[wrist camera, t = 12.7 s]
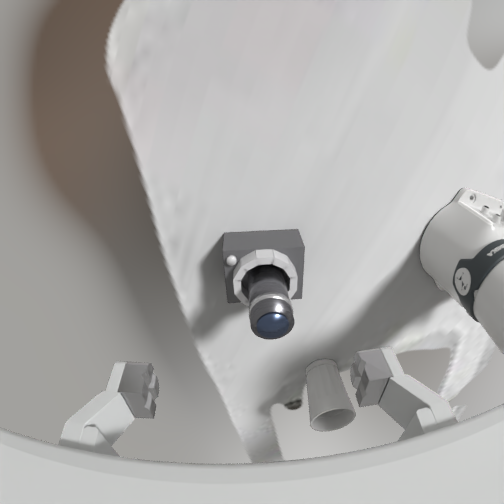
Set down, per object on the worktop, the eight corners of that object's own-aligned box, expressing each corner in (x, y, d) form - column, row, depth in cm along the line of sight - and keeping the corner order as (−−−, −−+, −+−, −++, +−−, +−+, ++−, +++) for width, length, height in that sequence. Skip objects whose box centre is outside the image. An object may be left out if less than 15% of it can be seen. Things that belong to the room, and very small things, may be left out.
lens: (257, 254, 40) (263, 302, 31) (291, 268, 41) (304, 317, 33) (239, 284, 42) (241, 335, 33) (272, 296, 43) (280, 347, 35)
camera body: (298, 229, 44) (307, 254, 38) (296, 281, 48) (303, 311, 42) (224, 232, 44) (221, 259, 37) (228, 285, 48) (227, 316, 42)
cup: (296, 363, 57) (306, 416, 47) (338, 351, 56) (354, 402, 46) (305, 386, 61) (314, 435, 50) (343, 375, 60) (357, 423, 49)
